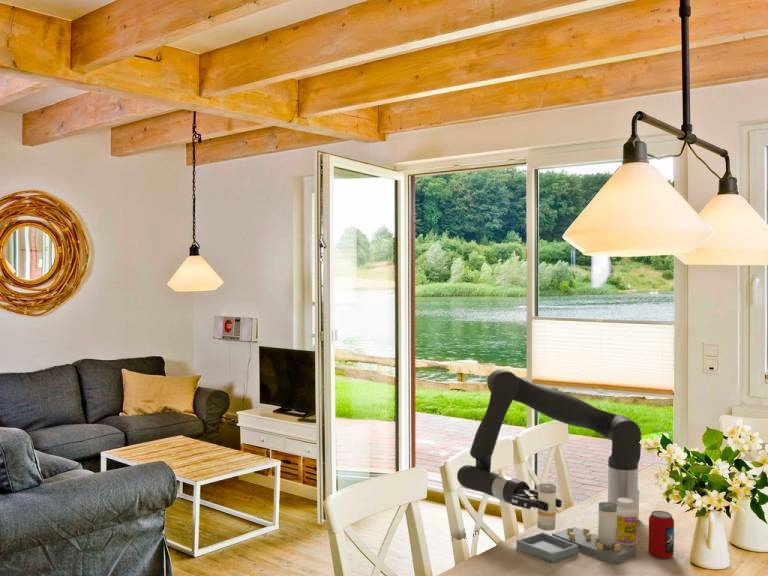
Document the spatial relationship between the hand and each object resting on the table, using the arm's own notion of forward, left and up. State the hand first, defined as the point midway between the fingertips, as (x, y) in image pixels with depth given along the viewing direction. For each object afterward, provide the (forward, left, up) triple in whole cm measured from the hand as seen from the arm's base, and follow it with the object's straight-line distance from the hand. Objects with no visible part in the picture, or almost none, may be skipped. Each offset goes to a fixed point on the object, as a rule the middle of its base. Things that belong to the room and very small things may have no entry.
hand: (554, 505), depth 208 cm
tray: (0, -3, -14) cm, 14 cm away
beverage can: (-24, +18, -14) cm, 33 cm away
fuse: (-13, +8, -12) cm, 20 cm away
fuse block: (-13, +3, -14) cm, 19 cm away
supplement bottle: (-24, +6, -14) cm, 29 cm away
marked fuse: (0, -3, -7) cm, 7 cm away
